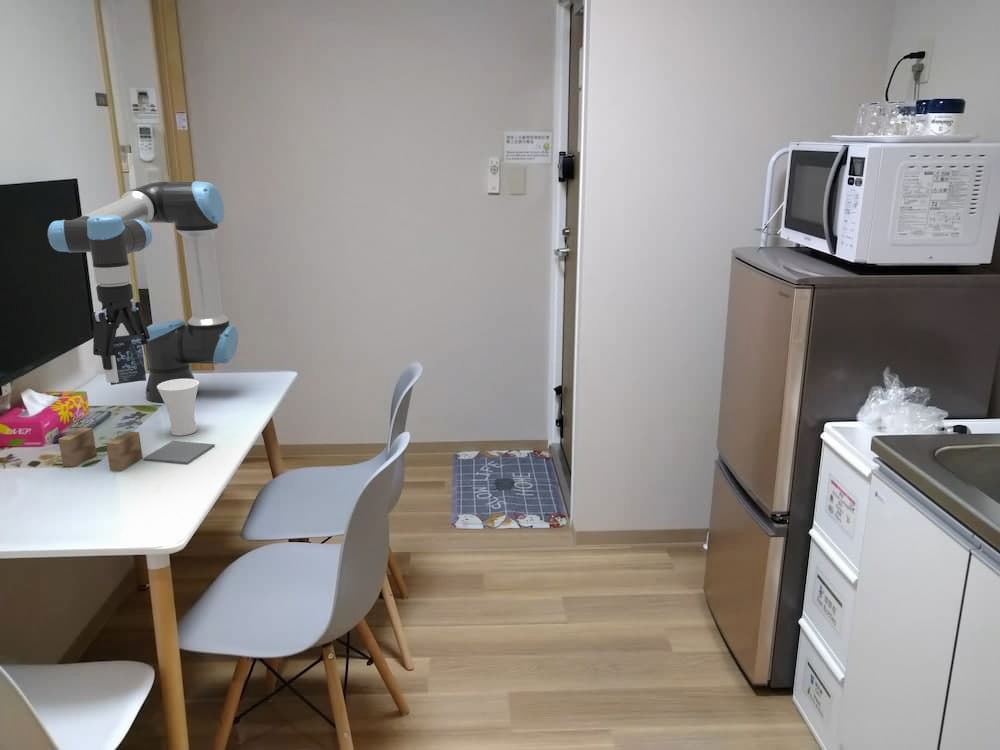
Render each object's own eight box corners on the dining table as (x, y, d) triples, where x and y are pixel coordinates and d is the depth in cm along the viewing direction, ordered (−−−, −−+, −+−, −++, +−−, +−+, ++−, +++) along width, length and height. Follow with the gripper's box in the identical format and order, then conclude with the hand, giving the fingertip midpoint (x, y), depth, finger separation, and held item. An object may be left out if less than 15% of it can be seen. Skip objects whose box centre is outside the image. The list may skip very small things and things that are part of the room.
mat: (172, 442, 200) (172, 440, 200) (214, 446, 198) (214, 444, 198) (143, 460, 189) (143, 458, 189) (187, 464, 187) (187, 462, 187)
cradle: (86, 453, 193) (81, 427, 191) (142, 458, 190) (138, 432, 188) (62, 465, 186) (58, 438, 184) (121, 471, 183) (117, 444, 181)
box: (111, 386, 180) (104, 342, 177) (108, 379, 185) (101, 337, 182) (147, 380, 184) (141, 338, 181) (143, 374, 189) (137, 333, 186)
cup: (164, 441, 201) (158, 392, 198) (161, 428, 210) (155, 381, 206) (206, 434, 206) (201, 386, 202) (201, 422, 215) (196, 376, 211)
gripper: (131, 275, 189) (143, 362, 195) (64, 291, 169) (80, 388, 175) (158, 276, 187) (169, 364, 194) (93, 292, 167) (108, 390, 173)
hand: (127, 376), depth 184 cm, fingers closed on box, 9 cm apart
